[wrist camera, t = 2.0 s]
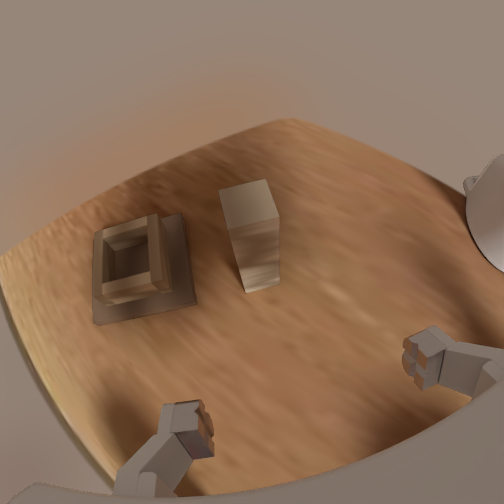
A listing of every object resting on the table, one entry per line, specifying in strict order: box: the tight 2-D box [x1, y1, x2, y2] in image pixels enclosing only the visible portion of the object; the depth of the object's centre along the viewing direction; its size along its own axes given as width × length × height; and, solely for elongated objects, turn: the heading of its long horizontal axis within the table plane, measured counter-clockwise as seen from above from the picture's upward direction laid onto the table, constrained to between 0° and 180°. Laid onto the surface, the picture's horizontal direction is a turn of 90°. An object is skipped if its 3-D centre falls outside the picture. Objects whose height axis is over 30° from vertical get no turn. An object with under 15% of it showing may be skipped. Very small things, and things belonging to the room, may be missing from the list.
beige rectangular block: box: [218, 179, 280, 293], centre depth 25 cm, size 4×4×12 cm
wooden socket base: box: [92, 213, 197, 326], centre depth 30 cm, size 12×11×4 cm
